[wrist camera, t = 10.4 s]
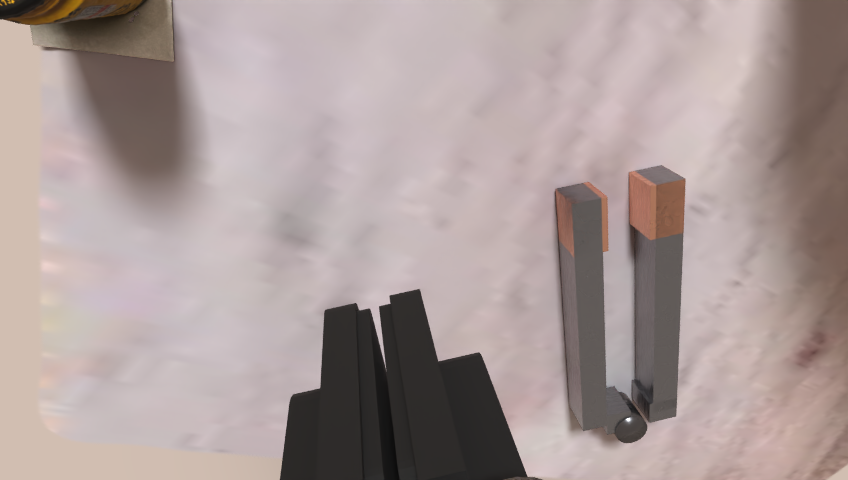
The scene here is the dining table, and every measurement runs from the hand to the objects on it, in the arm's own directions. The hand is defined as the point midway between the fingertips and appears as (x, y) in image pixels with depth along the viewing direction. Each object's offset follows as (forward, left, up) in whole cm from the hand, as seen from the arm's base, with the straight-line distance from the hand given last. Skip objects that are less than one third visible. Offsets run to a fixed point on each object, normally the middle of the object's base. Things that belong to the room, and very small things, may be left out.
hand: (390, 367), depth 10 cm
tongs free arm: (-15, +20, -27) cm, 37 cm away
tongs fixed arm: (-19, +19, -27) cm, 38 cm away
